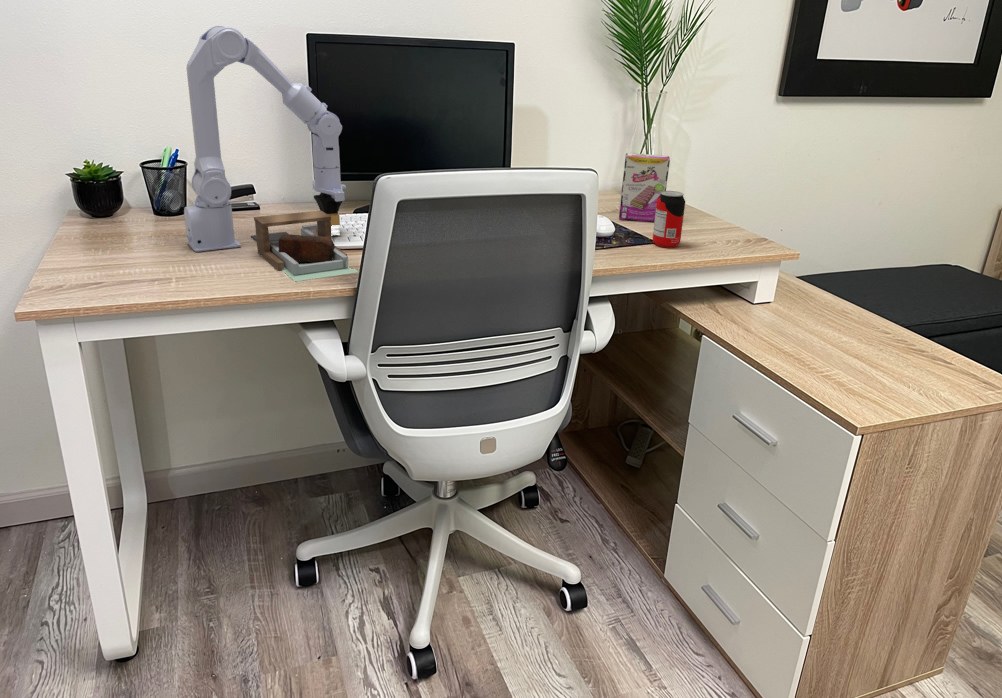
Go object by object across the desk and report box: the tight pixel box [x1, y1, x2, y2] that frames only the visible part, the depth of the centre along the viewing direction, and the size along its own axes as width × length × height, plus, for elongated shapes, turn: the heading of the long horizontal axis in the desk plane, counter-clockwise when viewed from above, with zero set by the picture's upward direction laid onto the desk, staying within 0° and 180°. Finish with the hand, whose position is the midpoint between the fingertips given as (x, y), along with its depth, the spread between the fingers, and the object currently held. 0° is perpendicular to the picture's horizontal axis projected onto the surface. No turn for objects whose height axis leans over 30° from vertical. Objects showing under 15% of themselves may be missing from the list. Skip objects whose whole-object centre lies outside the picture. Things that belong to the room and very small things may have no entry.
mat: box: [281, 260, 359, 283], centre depth 154 cm, size 13×10×1 cm
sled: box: [269, 213, 349, 275], centre depth 163 cm, size 18×25×5 cm
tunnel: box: [253, 209, 348, 272], centre depth 160 cm, size 14×14×8 cm
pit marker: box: [250, 231, 289, 243], centre depth 174 cm, size 8×6×1 cm
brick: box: [278, 233, 336, 263], centre depth 158 cm, size 11×4×5 cm, turn 92°
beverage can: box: [652, 190, 686, 249], centre depth 177 cm, size 6×6×12 cm
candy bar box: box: [618, 152, 671, 223], centre depth 198 cm, size 11×5×16 cm, turn 82°
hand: (330, 226), depth 179 cm, fingers closed
